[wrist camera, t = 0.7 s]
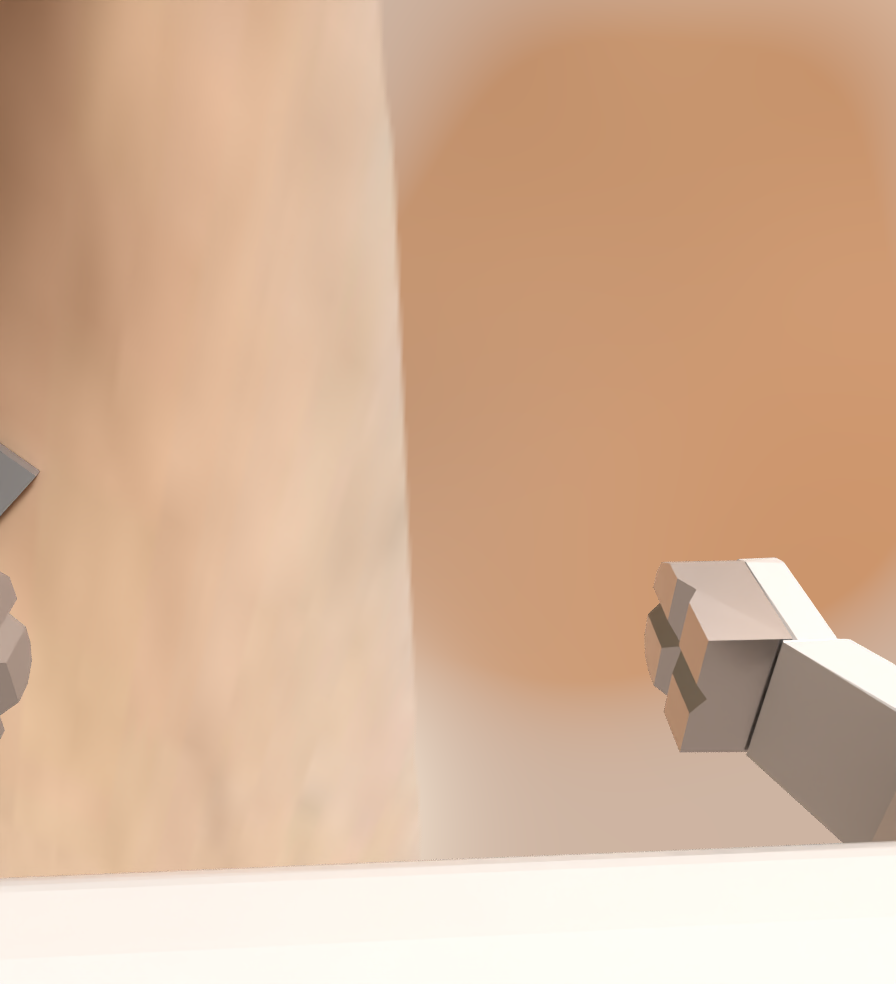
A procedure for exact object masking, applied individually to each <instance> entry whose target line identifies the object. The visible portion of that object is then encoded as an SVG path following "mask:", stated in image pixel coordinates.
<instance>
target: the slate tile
mask: <svg viewBox="0 0 896 984" xmlns="http://www.w3.org/2000/svg"><path fill="white" fill-rule="evenodd" d="M39 472H40V471H39V470H37V469H36V468H35V467H33V466H32V465H30V464H29V463H28V462H26V461H25V460H23V459H22V458H20V457H19V456H18V455H16V454H15V453H13V452H12V451H11V450H9V449H8V448H6V447H5V446H3V445H2V444H1V443H0V516H1V515H2V514H3V512H4V511H5V510H6V509H7V508H8V507H9V506H10V505H11V504H12V503H13V501H14V500H15V499H16V498H17V497H18V496H19V495H20V494H21V493H22V491H23V490H24V489H25V488H26V487H27V486H28V485H29V484H30V483H31V481H32V480H33V479H34V478H35V477H36V476H37V474H38V473H39Z"/></svg>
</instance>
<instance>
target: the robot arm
mask: <svg viewBox="0 0 896 984" xmlns="http://www.w3.org/2000/svg"><path fill="white" fill-rule="evenodd" d="M654 590H655V592H656V594H657V596H658V599H659V601H660V603H659V605H657V607H655V608H654V609H653V610H652V611H651V612H650V613H649V614H648V618H647V624H646V630H645V657H646V661H647V666H648V671H649V673H650V676H651V679H652V682H653V685H654V686H655V687H657V688H658V689H659V690H661V691H662V692H663V693H665V694H666V695H667V699H666V704H665V708H664V713H665V716H666V719H667V721H668V724H669V726H670V729H671V731H672V734H673V736H674V739H675V741H676V744H677V746H678V749H679V751H680V752H747V756H748V757H749V758H750V759H751V760H753V761H754V762H755V763H756V764H757V765H758V766H759V767H760V768H761V769H763V771H765V772H766V773H767V774H768V775H769V776H770V777H771V778H772V779H773V780H774V781H776V782H777V783H778V784H779V785H780V786H781V787H782V788H783V789H784V790H786V791H787V792H788V793H789V794H790V795H791V796H792V797H793V798H794V799H795V800H796V801H798V802H799V803H800V804H801V805H802V806H803V807H804V808H805V809H806V810H807V811H809V812H810V813H811V814H812V815H813V816H814V817H815V818H816V819H817V820H818V821H820V822H821V823H822V824H823V825H824V826H825V827H826V828H827V829H828V830H830V831H831V832H832V833H833V834H834V835H835V836H836V837H837V838H838V839H839V840H840V841H842V842H843V843H834V844H809V845H786V846H762V847H739V848H717V849H692V850H669V851H645V852H621V853H595V854H569V855H544V856H519V857H494V858H469V859H443V860H418V861H394V862H370V863H346V864H322V865H298V866H274V867H250V868H226V869H202V870H178V871H154V872H130V873H106V874H82V875H58V876H33V877H9V878H0V984H896V665H894V664H892V663H891V662H889V661H887V660H886V659H884V658H882V657H880V656H879V655H877V654H875V653H873V652H871V651H870V650H868V649H866V648H864V647H862V646H861V645H859V644H857V643H855V642H854V641H852V640H850V639H837V637H836V636H835V635H834V633H833V632H832V630H831V629H830V628H829V626H828V625H827V623H826V622H825V620H824V619H823V618H822V616H821V615H820V613H819V612H818V611H817V609H816V608H815V606H814V605H813V603H812V602H811V600H810V599H809V598H808V596H807V595H806V593H805V592H804V591H803V589H802V588H801V586H800V585H799V583H798V582H797V580H796V579H795V578H794V576H793V575H792V573H791V572H790V571H789V569H788V568H787V566H786V565H785V563H784V562H782V561H781V560H779V559H777V558H757V559H738V560H737V561H694V562H662V563H661V565H660V567H659V569H658V571H657V574H656V578H655V583H654ZM16 600H17V597H16V594H15V592H14V589H13V586H12V583H11V580H10V578H9V577H8V576H7V575H5V574H3V573H1V572H0V715H1V714H3V713H4V712H5V711H7V710H8V709H10V708H11V707H13V706H14V705H15V704H17V703H18V702H19V701H20V699H21V696H22V694H23V692H24V690H25V688H26V686H27V684H28V678H29V673H30V667H31V662H32V658H31V645H30V640H29V636H28V633H27V629H26V627H25V626H24V625H23V624H22V623H20V622H19V621H18V620H17V619H15V618H14V617H13V616H12V615H10V614H9V612H10V610H11V608H12V606H13V605H14V603H15V601H16ZM4 731H5V730H4V727H3V724H2V721H1V718H0V738H1V736H2V734H3V732H4Z"/></svg>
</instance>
